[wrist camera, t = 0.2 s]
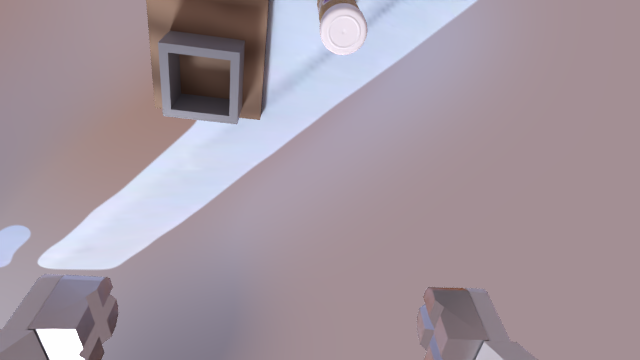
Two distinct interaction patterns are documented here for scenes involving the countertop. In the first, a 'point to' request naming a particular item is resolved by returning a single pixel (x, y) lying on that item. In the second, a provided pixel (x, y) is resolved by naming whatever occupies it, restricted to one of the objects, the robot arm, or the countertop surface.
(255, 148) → the countertop surface
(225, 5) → the wooden board
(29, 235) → the countertop surface
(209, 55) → the grey square open box
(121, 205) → the countertop surface
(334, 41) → the sprinkles bottle
